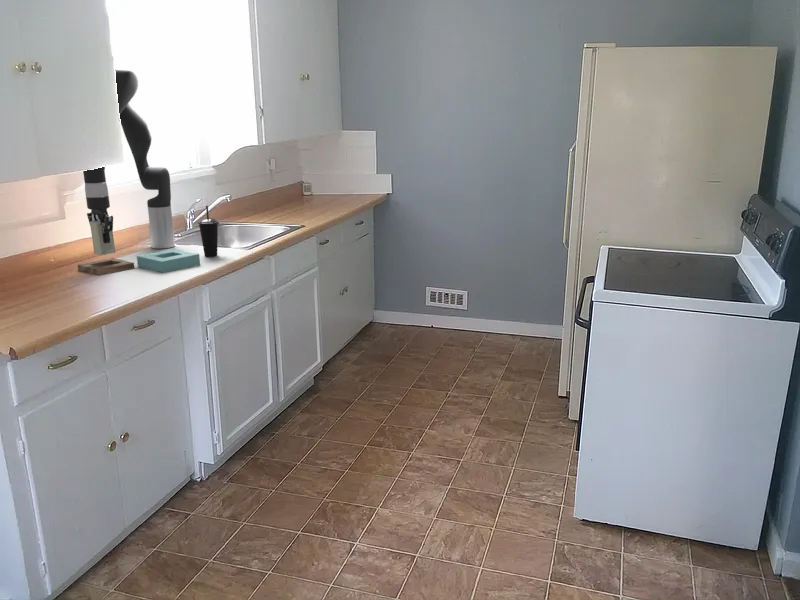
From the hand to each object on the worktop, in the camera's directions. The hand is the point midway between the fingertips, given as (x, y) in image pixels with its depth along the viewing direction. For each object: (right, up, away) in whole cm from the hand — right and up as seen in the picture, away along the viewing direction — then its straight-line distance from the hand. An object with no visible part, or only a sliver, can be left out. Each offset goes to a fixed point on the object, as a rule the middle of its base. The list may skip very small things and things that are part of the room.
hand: (103, 241), depth 254 cm
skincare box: (0, -4, +1) cm, 5 cm away
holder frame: (0, -10, +2) cm, 10 cm away
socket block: (+22, -8, +7) cm, 24 cm away
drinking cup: (+33, -4, +23) cm, 40 cm away
